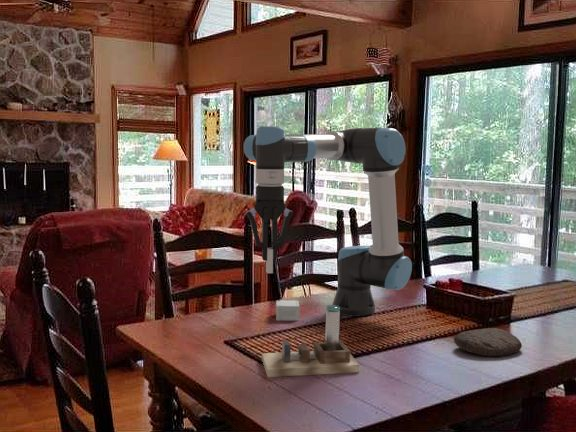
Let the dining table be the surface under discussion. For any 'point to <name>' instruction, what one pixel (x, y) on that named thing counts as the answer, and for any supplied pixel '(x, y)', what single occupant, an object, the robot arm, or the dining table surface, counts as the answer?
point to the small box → (287, 310)
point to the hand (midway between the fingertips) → (269, 272)
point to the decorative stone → (488, 342)
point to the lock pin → (292, 356)
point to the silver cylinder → (332, 327)
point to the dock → (311, 362)
